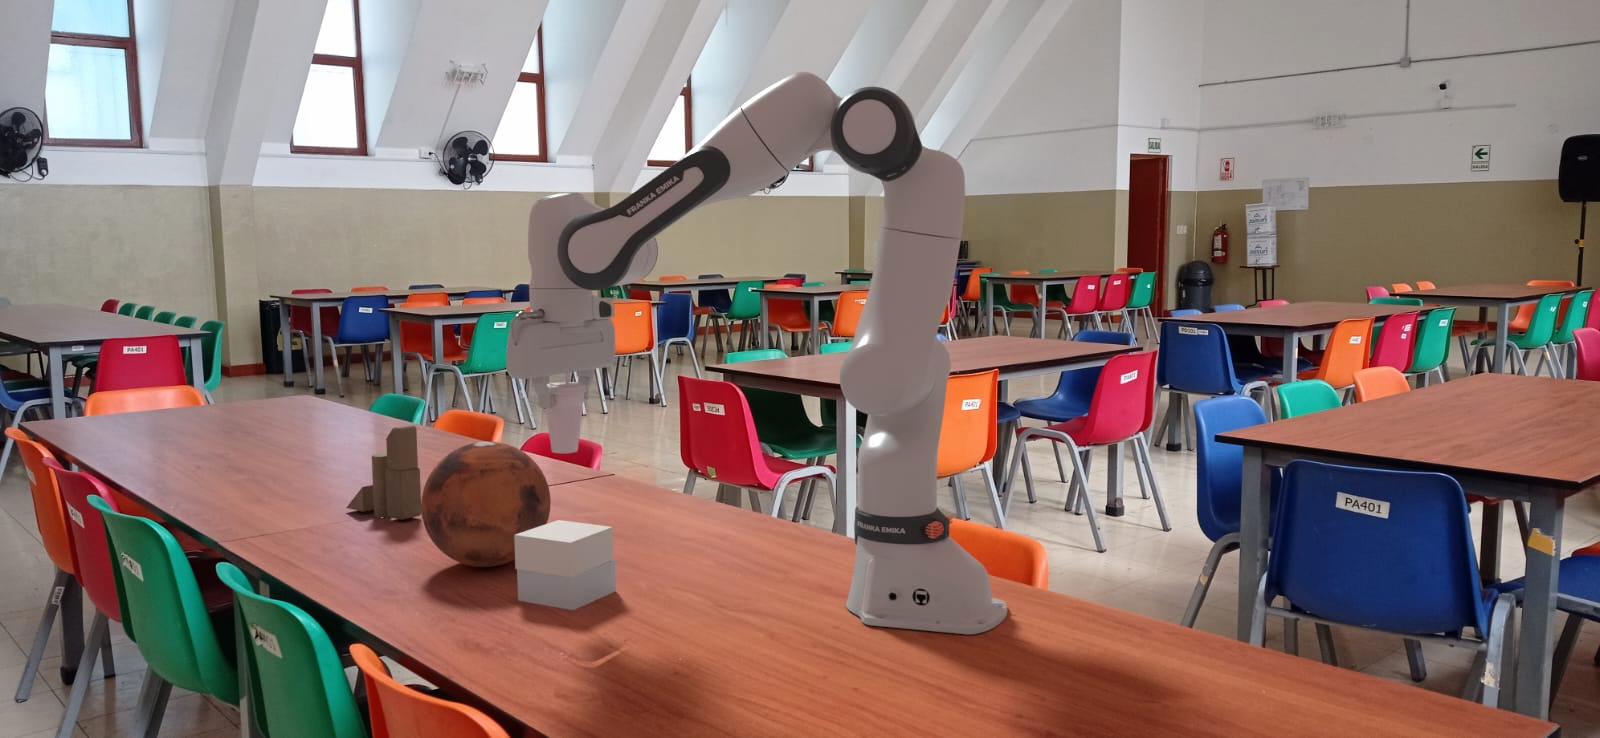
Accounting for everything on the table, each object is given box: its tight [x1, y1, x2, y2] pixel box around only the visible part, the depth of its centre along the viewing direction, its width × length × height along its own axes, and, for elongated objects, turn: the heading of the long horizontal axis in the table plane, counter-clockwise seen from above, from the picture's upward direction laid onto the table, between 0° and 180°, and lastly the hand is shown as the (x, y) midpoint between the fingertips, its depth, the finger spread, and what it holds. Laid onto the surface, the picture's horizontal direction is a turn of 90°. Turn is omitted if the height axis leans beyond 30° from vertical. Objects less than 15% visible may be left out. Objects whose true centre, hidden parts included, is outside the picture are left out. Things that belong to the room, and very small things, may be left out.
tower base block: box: [516, 559, 617, 611], centre depth 167 cm, size 10×10×5 cm
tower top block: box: [514, 519, 614, 577], centre depth 166 cm, size 10×10×5 cm
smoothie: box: [545, 373, 586, 454], centre depth 164 cm, size 6×6×14 cm
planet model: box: [421, 441, 552, 568], centre depth 182 cm, size 20×20×20 cm
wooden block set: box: [346, 424, 422, 521], centre depth 216 cm, size 17×6×18 cm, turn 56°
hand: (564, 404), depth 164 cm, fingers closed on smoothie, 6 cm apart
